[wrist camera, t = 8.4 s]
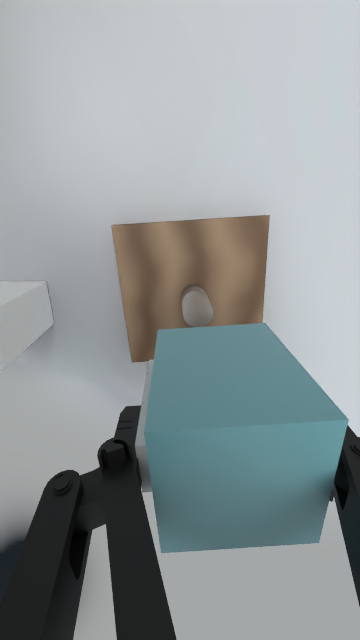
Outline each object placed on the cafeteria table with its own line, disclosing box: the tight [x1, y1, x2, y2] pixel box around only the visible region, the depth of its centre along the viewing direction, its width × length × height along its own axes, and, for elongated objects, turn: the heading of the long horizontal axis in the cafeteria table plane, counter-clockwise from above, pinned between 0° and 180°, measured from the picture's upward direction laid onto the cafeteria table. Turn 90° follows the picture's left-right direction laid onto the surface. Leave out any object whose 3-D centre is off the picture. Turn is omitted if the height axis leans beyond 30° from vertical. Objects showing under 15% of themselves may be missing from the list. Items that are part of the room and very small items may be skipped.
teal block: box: [144, 323, 348, 553], centre depth 13 cm, size 6×6×8 cm
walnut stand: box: [111, 215, 270, 362], centre depth 31 cm, size 18×18×8 cm
